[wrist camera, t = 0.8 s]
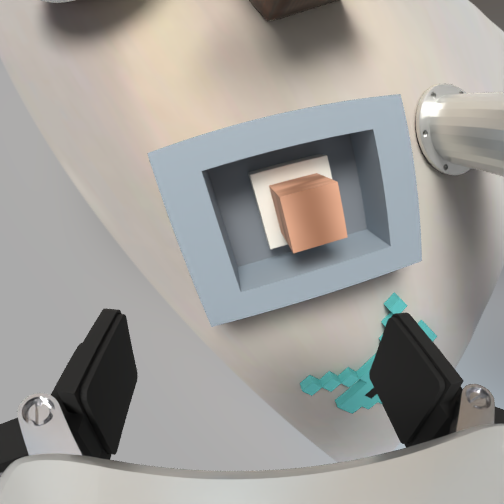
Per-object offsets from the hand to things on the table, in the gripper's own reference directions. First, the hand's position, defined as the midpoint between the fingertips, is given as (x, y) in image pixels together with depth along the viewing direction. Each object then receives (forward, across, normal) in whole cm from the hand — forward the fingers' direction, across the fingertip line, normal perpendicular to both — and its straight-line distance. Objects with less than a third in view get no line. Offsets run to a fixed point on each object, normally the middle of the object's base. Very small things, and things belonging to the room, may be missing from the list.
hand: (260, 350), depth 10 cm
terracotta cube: (+22, -6, -1) cm, 22 cm away
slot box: (+25, -6, -1) cm, 26 cm away
